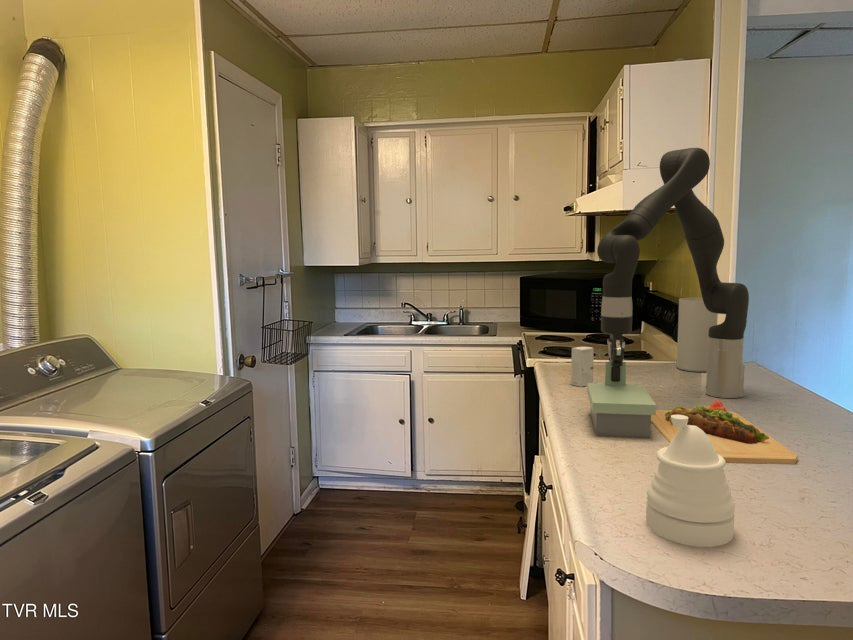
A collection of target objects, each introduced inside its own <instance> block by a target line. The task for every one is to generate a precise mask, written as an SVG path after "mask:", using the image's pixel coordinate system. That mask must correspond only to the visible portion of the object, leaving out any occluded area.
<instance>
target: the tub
mask: <svg viewBox="0 0 853 640" xmlns="http://www.w3.org/2000/svg"><path fill="white" fill-rule="evenodd" d="M589 413H590V417H591V420H592V421H591V422H592V425H593V428H594V433H595V436H601V437H602V436H603V437H604V436H605V437H618V438H619V437H623V438H624V437H625V438H643V439H644V438H647V439H651V430H652V429H651V425H652V422H651V415H635V414H608V413H593V412H592V408H591V407H590V411H589Z"/></svg>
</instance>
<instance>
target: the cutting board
mask: <svg viewBox="0 0 853 640" xmlns="http://www.w3.org/2000/svg"><path fill="white" fill-rule="evenodd" d="M671 415H684V416H687V417H688V423H687V425H693V426H697V427H698V428H700V429H701V430H703V431H704V432H705V434H706V435H707V436H708V438H709V439H710V441H711V442H712V444H713V446H714V448H715V450H716V452H717V454H719V455H720V456H722V457H723V458H724V460H725V462H726V463H728V464H729V463H731V464H735V463H736V464H767V463H780V465H781V464H782V465H796V464H797V462H798V458H799V457H798V456H799V455H798V454H796V453H795V452H793V451H792V450H790V449H789V448H787V447H786V446H785V445H783V444H782V443H781V442H779V441H778V440H776V439H774V438H773V437H772V436H770V435H769V434H767V433H765V431H763V430H761V429H760V428H759V427H757V426H756V425H755V424H753V423H751V422H750V421H748V419H745V418H744V417H743V416H741V415H740V414H738V413H737V412H734V411H732V410H731V411H730V410H729V411H728V409H726V407H725V405H724V404H723V402H722V401H720V399H716V400H715V401H714V402H713V403H712V402H711V403H710V404H709V406H704V405H702V406H700V405H695V406H694V407H693V408H692V409H691V408H689V407H684V406H681V405H679V406H675V407H674V408H673V409H672V410H669V409H666V410H665V409H664V410H663V409H656V415H651V424H653V426H654V427H655V428H656V429H657V430H658V432H659V433H660V434H661V435H662V436H663V438H665V439H666V440H667V442H668V443H669V444H670V442H671V441H672V439H673V438H674V436H675V435H676V434H677V433H678V432H679V431H680V430H681V429H677V428H675V427H674V426H673V424H672V422H671ZM796 461H797V462H796ZM726 463H725V464H726ZM783 463H784V464H783Z"/></svg>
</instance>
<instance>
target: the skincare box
mask: <svg viewBox="0 0 853 640" xmlns="http://www.w3.org/2000/svg"><path fill="white" fill-rule="evenodd" d="M594 352H595V351H594V347H590V346H577V347H572V348H571V372H570V373H571V377H570V378H571V379H570V380H571V383H570V385H572V386H574V385H575V387H578V386H579V388H582V387H587V383H594Z"/></svg>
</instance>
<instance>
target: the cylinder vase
mask: <svg viewBox="0 0 853 640" xmlns="http://www.w3.org/2000/svg"><path fill="white" fill-rule="evenodd" d="M718 315H719V314H718V313H712V312H710V311H708V310H707V308H706V307H705V305H704V302H703V299H702V297H681V298H678V317H677V319H678V320H677V321H678V323H677V324H678V325H677V327H678V328H677V347H676V348H677V351H676V353H677V355H676V366H677V368H678V369H679V370H682V371H685V372H691V373H707V356H708V332H709V328H710V327H712V326H715V325H718V318H719V317H718Z"/></svg>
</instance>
